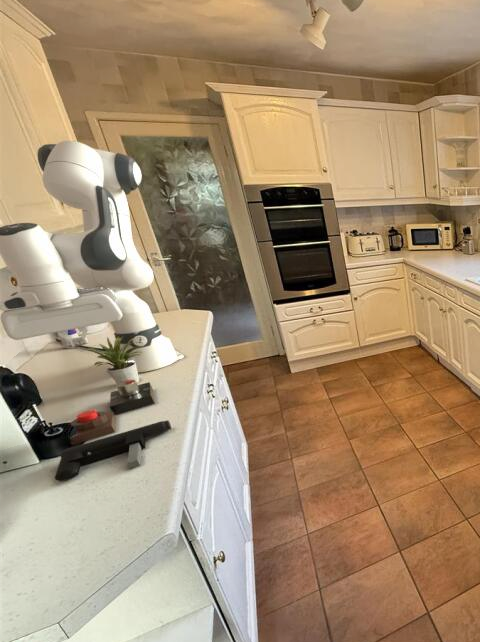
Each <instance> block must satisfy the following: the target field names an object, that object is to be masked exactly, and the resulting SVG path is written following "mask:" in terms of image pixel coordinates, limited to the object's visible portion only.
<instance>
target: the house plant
mask: <svg viewBox="0 0 480 642" xmlns="http://www.w3.org/2000/svg"><path fill="white" fill-rule="evenodd" d="M135 338H136V337H135ZM121 339H122V338H121ZM121 339H120V340H119V337H117V338H116V339H115V340H114V342H113V344H112V343H111V341H110V338H109V337H108V336H107V337H106V341H107V344H108V347H107V346H106V345H104V344H101V343H98V348H101V349H104V350H105V351H106V352H105V351H104V352H103V351H100V350H96V349H94V350H93V348H91V349H88V352H92V353H94V354H96V355H97V354H98V356H97V358H98V359H103V360H106V361H107V362H104V361H96V362H94V365H93V367H95V366H97V367H99V366H102V365H110V366H108V367H107V368H106V371H107V373H108V374H109V376H111V378H112V380H113V381H114V382H115V383H116V385H117V384H118V383H120V382H123V381H127V380H135V381H136V383H137V384H138V383H139V382H140V377H139V373H138V372H137V367H136V363H135V362H128V358H130V357H133V356H137V355H140V354H134V353H143V352H134V353H132V354H134V355H132V354H130V353H131V352H132V351H133V350H135V349H137V348H139V347H142V346H138V347H134V348H131V349H129V350H127V349H126V347H128V345H129V344H131V343H130V342H131V341H132V340H133V339H134V338H133V339H131V340H130V341H129V342H128V343H127V344H126V346H124V347H123V348H124V349H123V348H122V349H121V350H120V341H121ZM133 343H134V342H133ZM129 346H132V345H129ZM144 346H145V345H144ZM91 347H97V345H95V344H93V345H91ZM122 350H123V351H122ZM125 350H127V351H126V352H125V353H124V351H125ZM80 352H83V351H82V350H81V351H80ZM121 352H123V353H121ZM129 354H130V355H132V356H130V355H129ZM129 356H130V357H129ZM141 356H142V355H141ZM130 359H131V358H130ZM130 359H129V360H130ZM126 361H127V362H126Z"/></svg>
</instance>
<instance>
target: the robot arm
mask: <svg viewBox="0 0 480 642" xmlns="http://www.w3.org/2000/svg"><path fill="white" fill-rule="evenodd" d="M37 163H38V165H39V168H40V169H41V171H42V185H43V187H44V188H45V190H46V191H47V192H48V194H49V195H50V196H51V197H52V198H54V199H55V200H57V201H58V202H59V203H61V204H63V205H66V206H68V207H71V208H73V209H77V210H81V214H82V216H81V217H82V224H83V225H82V226H83V231H81V232H70V233H69V232H67V233H54V232H50V231H46V230H44V229H43V228H42V227H41V226H40V224H37V223H34V222H19V223H18V222H17V223H13V224H7V225H2V226H1V227H0V257H1V258H2V260H3V262H4V264H5V265H6V267H7V268H8V270H9V271H10V272H12V273H13V275H14V276H15V278H16V283H17V286H18V288H19V289H20V290H19V291H16V292H13V293H12V294H8V295H6V296H4V297H3V298H1V299H0V311H2V312H1V314H0V322H1V324H2V328H3V329H4V331H5V333H6V335H7V336H8V338H10V339H12V340H15V341H19V340H26V339H30V338H34V337H40V336H46V335H50V334H55V333H56V334H57V333H58V334H57V336H58V335H59V336H60V337H62V338H64V339H66V340H67V341H69V342H70V343H71V345H72V347H75V346H76V347H75V348H82V349H86V350H93V351H96V350H98V351H101V352H104V353H105V352H106V351H105V350H104V349H103V348H101V347H96V346H88V344H89V340H88V338H87V333H88V330H89V328H88V327H91V326H96V325H102V324H107V323H110V325H111V327H112V329H113V331H114V332H113V335H114V339H115V340H116V338H117V337H119V340H120V339H121V338H122V339H121V341H120V350H121V349H122V348H123V347H124V346H126V344H127V343H128V342H129V341H130V340H131V339H133V338H134V339H133V340H132V341H131V342H130V343H131V344H129V345H132V346H129V345H128V347H126V349H127V350H129V349H131V348H134V347H138V346H142V347H139V348H137V349H135V350H133V351H132V352H131V353H130V354H132V353H134V352H143V353H134V354H140V355H137V356H133V357H130V356H132V355H134V354H132V355H130V354H129V355H130V356H129V357H130V358H131V359H130V358H128V362H135V363H136V367H137V372H138V374H140V373H145V372H146V373H147V372H150V371H155V370H158V369H162V368H164V367H165V368H166V367H167V366H169V365H172V364H173V363H175V362H177V361H179V360H182V359H184V358H185V356H184V354H183V353H181V352H179V351H178V350H176V349H175V347H174V346H173V344H172V342H171V340H170V338H168V337H166V336H165V335H163V334H162V331H161V330H162V329H161V327H160V326H159V324H158V323H156V320H155V318H154V315H153V313H152V311H151V309H150V305H148V303H147V302H146V301H144V300H143V299H141V298H140V297H139V296H138V295H137V294H135V293H134V292H135V291H139V290H142V289H146V288H148V287H150V286H151V285H152V283H153V281H154V278H155V274H154V271H153V269H152V267H151V266H150V264H149V263H147V262H145V261H144V259H142V257H141V256H140V254H139V253H138V250H137V248H136V245H135V242H134V238H133V232H132V223H131V213H130V208H129V202H128V199H127V196H128V195H130V194H131V192H133V191H136V190H137V189H138V188H139V187H140V186H141V182H142V177H143V176H142V171H141V167H140V166H139V164H138V163H137V161H136V160H135V159H134V158H133V157H131V156H129V155H126V154H123V153H120V152H117V153H116V152H112V151H108V150H104V149H98V148H94V147H91V146H89V145H87V144H86V143H83V142H79V141H76V140H62V141H60V142H57V143H47V144H43V145H41V146H40V147H39V148H38V150H37ZM77 286H79V287H81V288H77ZM71 329H75V330H78V331H79V333H82V334H81V336H79V337H78V338H72V337H70V336H69V335H67V333H68V331H67V330H71ZM59 336H58V337H59ZM135 337H136V338H135ZM54 340H55V341H56V342H59V343H61V344H62V342H61V340H60V338H55V339H54ZM133 342H134V343H133ZM144 345H145V346H144ZM91 348H93V349H91ZM94 349H96V350H94ZM123 349H124V348H123ZM127 350H125V351H124V353H125V352H126V351H127ZM122 351H123V350H122ZM121 353H123V352H121ZM141 355H142V356H141ZM129 359H130V360H129ZM126 362H127V361H126Z"/></svg>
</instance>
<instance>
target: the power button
mask: <svg viewBox="0 0 480 642" xmlns="http://www.w3.org/2000/svg"><path fill="white" fill-rule="evenodd" d="M97 412H98V411H96V410H95V409H90V410H86V411H82V412H81V413H78V414H77V415H76V418H77V419H78V421H79V422H80V423H83V422H87V421H91V420H93V419H96V418H97V417H99V416H98V414H97Z"/></svg>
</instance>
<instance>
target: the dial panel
mask: <svg viewBox="0 0 480 642" xmlns="http://www.w3.org/2000/svg"><path fill="white" fill-rule="evenodd" d="M137 385H138V387H139V389H140V392H139V393H137V394H135V395H132V396H128V397H121V396H120V394H119V392H118V390H117V389H116V390H114V391H111V392H110V399H109V409H110V412H112V411H113V413H114V414H115V416H118V415H120V414H125V413H129V412H132V411H135V410H139V409H142V408H146V407H149V406H152V405H155V404H156V403H155V402H156V401H155V394H154V393H155V392H154V389H153V386H152V384H151V382H150V381H148V382H145V383H140V384H137Z"/></svg>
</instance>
